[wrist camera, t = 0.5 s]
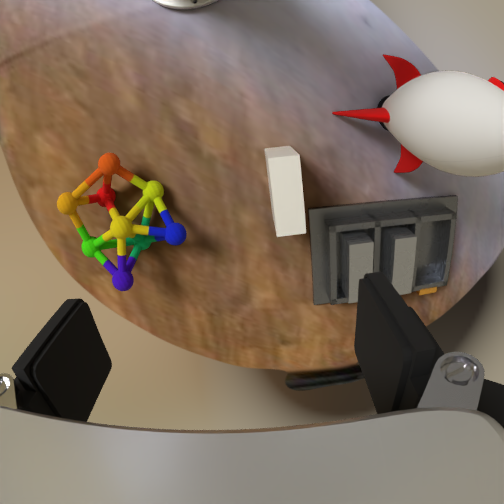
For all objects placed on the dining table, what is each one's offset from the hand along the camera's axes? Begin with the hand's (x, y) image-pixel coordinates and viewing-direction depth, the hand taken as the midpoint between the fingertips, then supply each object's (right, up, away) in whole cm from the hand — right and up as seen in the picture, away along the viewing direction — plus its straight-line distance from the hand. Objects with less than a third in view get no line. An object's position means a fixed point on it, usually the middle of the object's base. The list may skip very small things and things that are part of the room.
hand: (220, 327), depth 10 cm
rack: (+20, +3, +32) cm, 38 cm away
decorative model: (-14, +8, +30) cm, 34 cm away
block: (+4, +11, +28) cm, 31 cm away
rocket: (+18, +20, +24) cm, 36 cm away
